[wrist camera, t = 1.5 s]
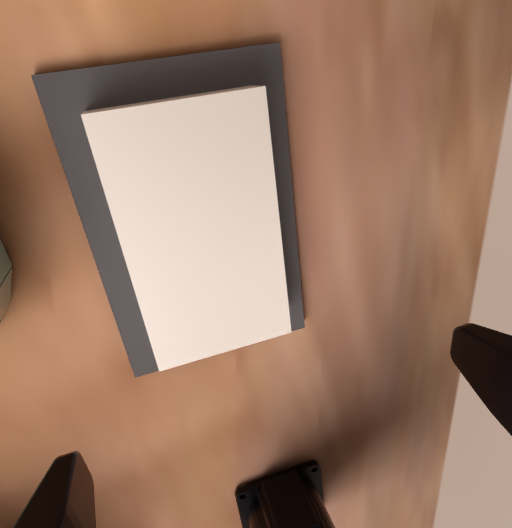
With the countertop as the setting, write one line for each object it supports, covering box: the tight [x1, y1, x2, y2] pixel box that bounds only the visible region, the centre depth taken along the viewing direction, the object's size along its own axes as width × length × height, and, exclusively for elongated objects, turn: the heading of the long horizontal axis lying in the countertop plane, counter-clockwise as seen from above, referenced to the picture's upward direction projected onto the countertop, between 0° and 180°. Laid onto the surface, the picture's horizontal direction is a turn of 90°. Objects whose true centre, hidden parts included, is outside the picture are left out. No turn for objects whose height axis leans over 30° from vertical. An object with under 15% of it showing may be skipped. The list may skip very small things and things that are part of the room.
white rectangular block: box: [81, 85, 291, 371], centre depth 19 cm, size 12×7×2 cm, turn 8°
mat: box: [31, 42, 305, 377], centre depth 20 cm, size 15×10×1 cm, turn 8°
